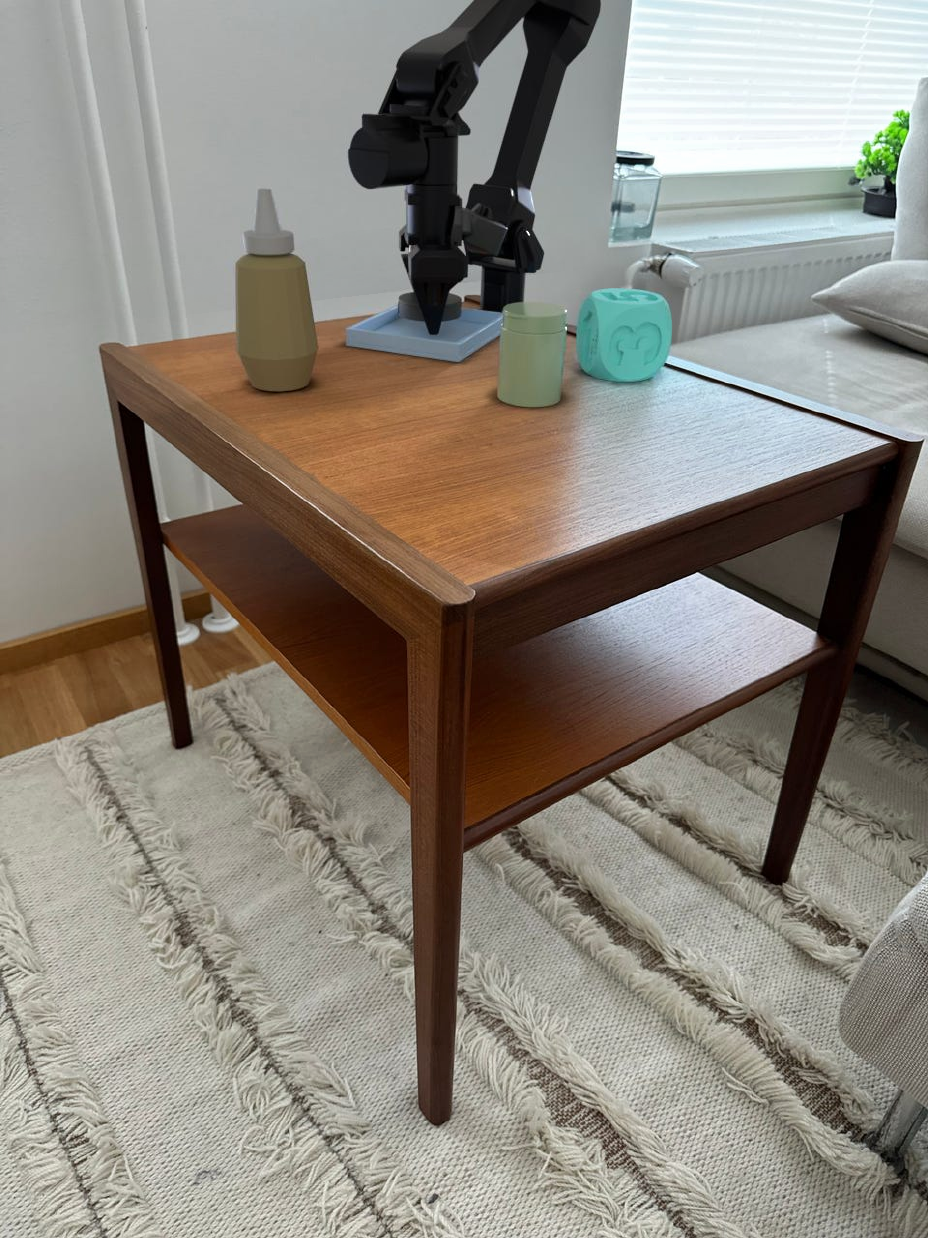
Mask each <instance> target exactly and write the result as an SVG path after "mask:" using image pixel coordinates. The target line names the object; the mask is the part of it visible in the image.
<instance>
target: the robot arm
mask: <svg viewBox="0 0 928 1238" xmlns="http://www.w3.org/2000/svg"><path fill="white" fill-rule="evenodd" d="M601 8H602V0H472V1H471V2H470V3H469V5H468V6H466V8H465V9H464V10H463V11H462V12H461V13H460V15H458V16H457V18H455V20H454V21H453V22H452V23H451V24H450V25H449V26H448V27H447V28H446V29H445V28H444V30H442V31H440V32H438V33H436V34H432V35H429V36H428V37H425V38H422V39H420V40H419V41H418V42H416V43H415V44H413V45H411V46H410V47H409V48H406V50H404V51H403V52H402V53H401V54H400V56H399V57H398V59H397V62H396V64H395V68H396V69H395V72H394V74H393V77H392V78H391V81H390V84H389V86H388V88H387V90H386V93H385V96H384V98H383V100H382V103H381V105H380V107H379V110H378V112H377V113H363V114H362V115H361V127H360V128H359V129H357V130H356V131H355V133H354V134H353V136H352V138H351V141H350V144H349V148H348V149H347V162H348V166H349V170H350V173H351V175H352V177H353V179H354V180H355V181H356V183H357V184H358V185H360V186H361V187H362V188H364V189H366V190H378V189H386V188H396V187H405V189H404V201H405V215H406V216H405V224H404V225H403V226H402V228H401V229H400V230H399V231H398V249H399V252H406V249H407V253H401V254H400V257H401V260H402V263H403V265H404V268H405V271H406V274H407V277H408V280H409V283H410V286H411V289H412V292H415V295H416V298H417V301H418V303H419V306H420V309H421V312H422V315H423V318H424V321H425V324H426V327H427V329H428V332H429V334H430V335H437V334H439V330H440V326H441V322H442V318H443V314H444V310H445V306H446V302H447V298H448V294H449V293H450V292H451V290H452V289H453V288H455V286H457V285H458V284H459V283H461V282H462V281H464V279H466V278H468V277H469V266H478V267H481V271H480V272H481V274H480V298H479V299H480V300H479V301H480V302H479V308H477V310H484V311H492V312H500V313H502V311H503V309H504V306H506V305H508V304H512V303H518V302H525V291H526V274H536V273H537V271H540V270H542V269H541V268H542V265H543V262H544V257H545V250H544V249H543V247H542V245H541V243H540V241H539V239H538V237H537V236H536V234H535V232H534V230H533V228H534V223H535V219H536V212H535V207H534V201H533V197H532V193H531V189H532V185H533V182H534V178H535V175H536V171H537V168H538V164H539V161H540V157H541V154H542V151H543V148H544V144H545V141H546V137H547V135H548V131H549V128H550V124H551V121H552V118H553V114H554V111H555V108H556V104H557V102H558V97H559V95H560V90H561V88H562V84H563V81H564V78H565V75H566V71H567V69H568V67H569V66H570V65H571V64H572V63H573V61H574V60H576V58H577V57H578V56H579V55H580V54H581V53H582V52H583V51H584V50H585V49H586V47H587V46H588V44H589V42H590V39H591V37H592V34H593V32H594V29H595V27H596V24H597V22H598V19H599V17H600V14H601ZM522 19H523V20H522ZM520 21H522V31H523V36H524V40H525V45H526V50H527V52H526V57H525V61H524V64H523V67H522V71H521V75H520V78H519V81H518V85H517V88H516V91H515V96H514V99H513V102H512V106H511V110H510V113H509V116H508V119H507V123H506V126H505V130H504V133H503V135H502V139H501V144H500V146H499V150H498V153H497V156H496V161H495V164H494V168H493V170H492V174H491V176H490V177H489V178H488V179H487V180H486V181H485V182H484V183H483V184H482V183H473V184H472V185H471V187H470V189H469V192H468V197H467V202H466V205H465V207H463V198H462V197H461V196H460V194H459V193H458V180H459V179H458V178H459V177H458V175H459V173H458V171H459V170H458V169H459V137H463V136H464V137H465V136H470V135H471V132H472V130H471V127H470V126H469V125H468V123H466V121H464V120H463V118H462V116H461V115H460V111H462V110H463V109H464V107H465V106H466V105H467V103H468V101H469V100H470V98H471V96H472V95H473V93H474V92H475V90H476V88H477V87H478V85H479V80H480V68H481V66H482V65H483V63H484V62H485V61H486V60H487V58H488V57H490V55H491V54H492V53H493V52H494V51H495V49H496V48H497V47H498V46H499V45H500V44H501V43H502V41H504V40H505V38H506V37H507V36H508V35H509V34H510V33H511V32H512V31H513V29H515V27H516V26H517V25H518V24H519V22H520ZM460 247H463V248H464V252H463V251H462V250H461V248H460Z"/></svg>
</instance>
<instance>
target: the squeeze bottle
mask: <svg viewBox="0 0 928 1238" xmlns="http://www.w3.org/2000/svg"><path fill="white" fill-rule="evenodd" d="M255 205H256V206H255V213H254V221H253V229H249V230H245V231H244V232H243V233H242V242H243V250H244V252H246V254H244V255H242V256H241V257H240V258H238V260H237V261H235V267H234V269H235V270H234V271H235V272H234V273H235V275H234V276H235V351H236V354H237V355H238V358H239V360H240V362H241V365H242V367H243V369H244V371H245V374H246V376H247V378H248V380H249V383H250V385H251V386H252V388H256V389H258V390H262V391H267V392H287V391H289V392H290V391H295V390H299V389H303V388H304V387H307V386H308V385H309V383H310V381H311V377H312V373H313V371H314V370H313V368H314V366H315V361H316V358H317V355H318V350H319V343H318V335H317V330H316V323H315V315H314V311H313V304H312V298H311V291H310V285H309V284H310V283H309V279H308V271H307V265H306V262H305V261H304V260H303V259H302V258H301V257H299V256H298V255H297V254H294V253H293V252H294V251H295V239H294V238H295V237H294V232H293V231H291V230H286V229H282V225H281V221H280V217H279V214H278V213H279V212H278V210H277V207H276V203H275V199H274V196H273V192H272V189H271V188H258V189H257V195H256V204H255Z"/></svg>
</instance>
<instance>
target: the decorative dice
mask: <svg viewBox="0 0 928 1238" xmlns="http://www.w3.org/2000/svg"><path fill="white" fill-rule="evenodd" d="M672 336H673V321H672V314H671V309H670V306H669V303H668V301H667V300H666V299H665V297H663V296H662V295H661V294H659V293H656V292H653V291H649V290H644V289H637V288H626V287H625V288H622V287H612V288H611V287H610V288H609V287H608V288H599V289H596V290H594V291H592V292H591V293H590V294H589V295H588V296H587V297H586V298H585V299H584V300H583V301H582V303H581V306H580V309H579V312H578V316H577V324H576V337H575V338H576V340H575V341H576V352H577V358H578V362H579V365H580V367H581V369H582V370H583V372H584V373H585V374H587V375H589V376H590V377H593V378H595V379H598V380H604V381H608V382H616V383H617V382H618V383H635V382H636V383H637V382H642V381H646V380H649V379H651V378H652V377H654V376H655V375H656V374H657V373H658V372H659V371H660V370H661V369H663V366H664V365H665V364H666V362H667V360H668V357H669V354H670V350H671V345H672V338H673V337H672Z"/></svg>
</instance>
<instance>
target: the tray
mask: <svg viewBox="0 0 928 1238" xmlns="http://www.w3.org/2000/svg"><path fill="white" fill-rule="evenodd" d="M501 323H503V313H500V312H492V311H484V310H478V309H475V308H467V307H462V309H461V317H459V318H458V319H455V320H451V321H444V322H441V326H440V330H439V334H437V335H430V334H429V332H428V329H427V327H426V324H425V322H421V321H414V320H409V319H405V318H403V317H401V316H400V315H399V314H398V304H396V305H394V306H391V307H389V308H387V309H385V310H383V311H381V312H379V313H376V314H374V315H371V316H369V317H367V318H365V319H363V320H361V321H359V322H357V323H355V324H352V325H349V326H348V327H346V328H345V342H346V343H345V344H346V346H347V347H352V348H360V349H365V350H371V351H372V350H374V351H380V352H385V353H393V354H399V355H407V356H413V357H420V358H427V359H433V360H441V361H447V362H455V363H460V362H462V361H464V359H466V358H468V357H469V356H470V355H472V354H473V353H476V352H477V351H479V350H480V349H481V348H482V347H485V346H486V345H487V344H488V343H490V342H492V341H494V340H495V339H496V338H498V337H500V327H501Z"/></svg>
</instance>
